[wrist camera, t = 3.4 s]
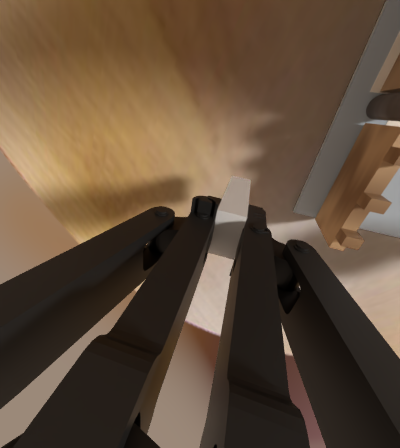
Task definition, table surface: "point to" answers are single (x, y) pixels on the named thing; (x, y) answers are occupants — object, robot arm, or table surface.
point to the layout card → (359, 125)
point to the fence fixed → (387, 98)
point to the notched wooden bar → (360, 186)
